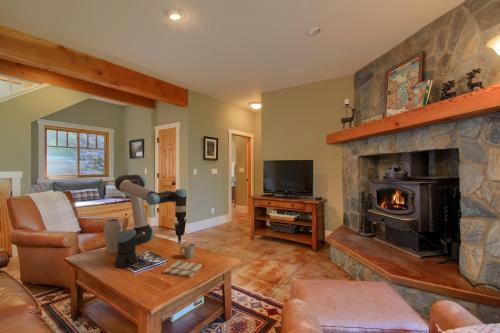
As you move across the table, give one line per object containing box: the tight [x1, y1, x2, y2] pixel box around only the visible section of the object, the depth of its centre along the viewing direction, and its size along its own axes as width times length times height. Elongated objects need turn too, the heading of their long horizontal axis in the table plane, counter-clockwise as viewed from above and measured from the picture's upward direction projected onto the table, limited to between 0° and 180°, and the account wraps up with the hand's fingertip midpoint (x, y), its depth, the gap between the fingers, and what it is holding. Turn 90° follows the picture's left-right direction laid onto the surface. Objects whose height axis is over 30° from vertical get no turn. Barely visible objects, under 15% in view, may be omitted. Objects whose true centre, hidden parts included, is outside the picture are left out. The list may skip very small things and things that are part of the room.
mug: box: [179, 243, 196, 260], centre depth 183 cm, size 8×13×10 cm, turn 78°
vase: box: [103, 218, 123, 255], centre depth 191 cm, size 13×13×26 cm
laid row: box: [162, 267, 196, 279], centre depth 161 cm, size 22×17×2 cm
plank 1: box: [168, 260, 189, 270], centre depth 166 cm, size 10×9×2 cm
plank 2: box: [183, 262, 203, 274], centre depth 163 cm, size 10×9×2 cm
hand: (180, 244), depth 167 cm, fingers closed
